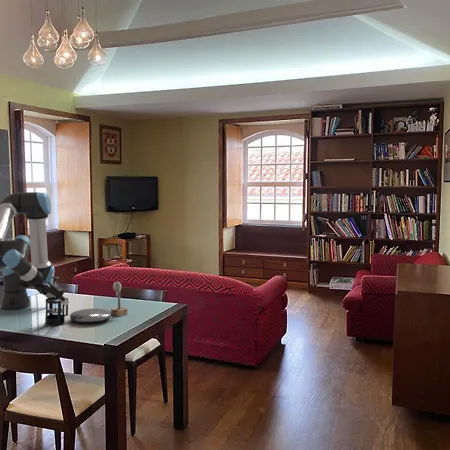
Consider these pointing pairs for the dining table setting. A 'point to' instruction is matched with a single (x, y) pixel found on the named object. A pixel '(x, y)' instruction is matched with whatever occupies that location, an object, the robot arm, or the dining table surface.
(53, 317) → the french press
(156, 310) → the dining table surface
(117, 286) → the dial gauge stand
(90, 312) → the disc
